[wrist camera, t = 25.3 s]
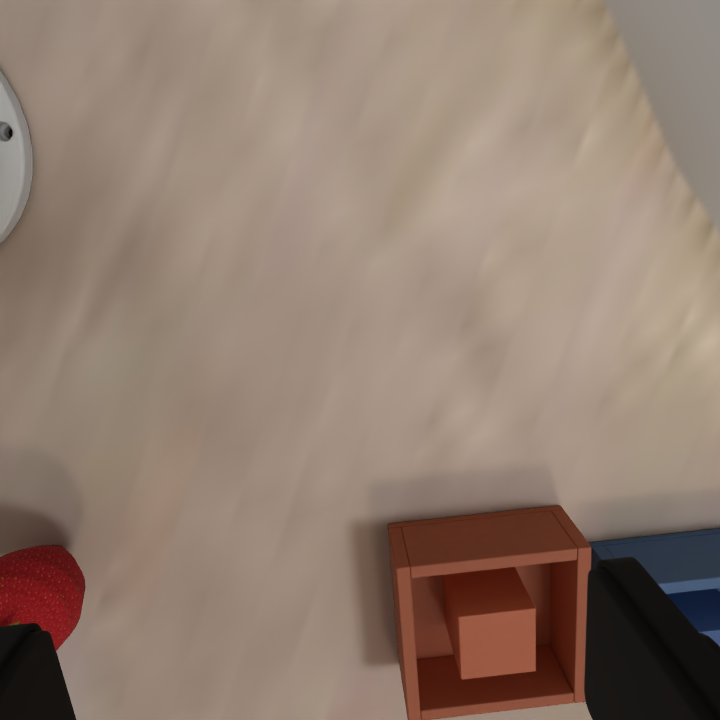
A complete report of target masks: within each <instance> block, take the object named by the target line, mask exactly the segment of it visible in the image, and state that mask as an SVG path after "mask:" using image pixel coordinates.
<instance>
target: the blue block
mask: <svg viewBox="0 0 720 720" xmlns="http://www.w3.org/2000/svg"><path fill="white" fill-rule="evenodd" d="M667 595H668V597H669V598H670V599H671V600H672V601H673V603H674V604H675V605H676V606H677V607H678V608H679V610H680V611H681V612H682V613H683V614H684V615H685V617H686V618H687V619H688V620H689V621H690V623H691V624H692V625H693V626H694V627H695V628H696V630H697V631H698V632H699V633H703V634H705V635H707V636H709V637H710V638H711V639H713V640H714V641H715V642H716V643H717V644H718V645H719V646H720V592H719V591H718V590H717V589H716V588H715V589H706V590H697V591H689V592H680V593H671V594H667Z"/></svg>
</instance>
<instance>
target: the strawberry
mask: <svg viewBox="0 0 720 720" xmlns="http://www.w3.org/2000/svg"><path fill="white" fill-rule="evenodd" d="M84 592H85V579H84V576H83V573H82V571H81V569H80V567H79V566H78V564H77V562H76V560H75V559H74V557H73V556H72V555H71V554H70V553H69V552H68V551H66V549H65V548H63V547H62V546H58V545H52V546H50V545H49V546H36V547H32V548H27V549H23V550H18V551H15V552H12V553H9V554H6V555H4V556H2V557H0V627H1V626H8V625H17V624H26V623H37V624H38V625H39V626H40V627H41V629H42V631H48V632H49V633H50V634H51V636H52V639H53V643H54V646H55V650H57V649H58V648H59V647H60V646H61V645H62V644H63V643H64V641H65V640H66V639H67V638H68V637H69V636H70V634H71V633H72V631H73V630H74V629H75V627H76V626H77V623H78V621H79V619H80V615H81V610H82V604H83V598H84Z"/></svg>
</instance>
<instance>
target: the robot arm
mask: <svg viewBox="0 0 720 720" xmlns="http://www.w3.org/2000/svg"><path fill="white" fill-rule="evenodd" d="M11 128H12V130H13V136H12V137H10V136H9V130H10V129H11ZM32 177H33V150H32V145H31V140H30V135H29V129H28V125H27V122H26V119H25V117H24V114H23V112H22V109H21V106H20V104H19V101H18V99H17V97H16V95H15V94H14V92H13V90H12V88H11V87H10V85H9V83H8V81H7V80H6V78H5V76H4V75H3V73H2V72H1V71H0V243H1V242H2V241H4V240H5V239H6V238H7V237H8V235H9V234H10V232H11V231H12V230H13V228H14V227H15V225H16V224H17V223H18V221H19V220H20V217H21V215H22V213H23V210H24V208H25V206H26V203H27V201H28V198H29V193H30V188H31V183H32ZM584 694H585V700H586V704H587V707H588V710H589V712H590V715H591V717H592V719H593V720H720V646H719V645H718V644H717V643H716V642H715V641H714V640H713V639H711V638H710V637H709V636H707V635H705V634H703V633H699V632H698V631H697V630H696V628H695V627H694V626H693V625H692V624H691V623H690V621H689V620H688V619H687V618H686V617H685V615H684V614H683V613H682V612H681V611H680V610H679V608H678V607H677V606H676V605H675V604H674V603H673V601H672V600H671V599H670V598H669V597H668V595H667V594H666V593H665V592H664V591H663V590H662V588H661V587H660V586H659V585H658V584H657V583H656V581H655V580H654V579H653V578H652V577H651V575H650V574H649V573H648V572H647V571H646V570H645V568H644V567H643V566H642V565H641V564H640V563H639V561H637V560H636V559H635V558H633V557H623V558H614V559H605V560H600V561H598V563H597V567H596V569H595V570H590V571H589V573H588V583H587V615H586V646H585V678H584ZM0 720H76V717H75V714H74V711H73V707H72V704H71V700H70V697H69V694H68V690H67V687H66V683H65V680H64V677H63V673H62V670H61V667H60V663H59V660H58V656H57V653H56V650H55V646H54V643H53V639H52V636H51V634H50V633H49V632H48V631H42V629H41V627H40V626H39V625H38V624H37V623H26V624H17V625H8V626H1V627H0Z"/></svg>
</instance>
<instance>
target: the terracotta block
mask: <svg viewBox="0 0 720 720" xmlns="http://www.w3.org/2000/svg"><path fill="white" fill-rule="evenodd" d="M443 580H444V599H445V618H446V627H447V631H448V634H449V638H450V642H451V645H452V649H453V652H454V656H455V660H456V663H457V667H458V671H459V674H460V678H461V679H462V680H463V679H472V678H480V677H489V676H498V675H506V674H515V673H524V672H532V671H536V608H535V606H534V604H533V602H532V600H531V598H530V596H529V594H528V592H527V590H526V588H525V586H524V584H523V582H522V580H521V578H520V576H519V574H518V572H517V570H516V568H515V567H509V568H500V569H491V570H482V571H473V572H464V573H455V574H446V575H443Z"/></svg>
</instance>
